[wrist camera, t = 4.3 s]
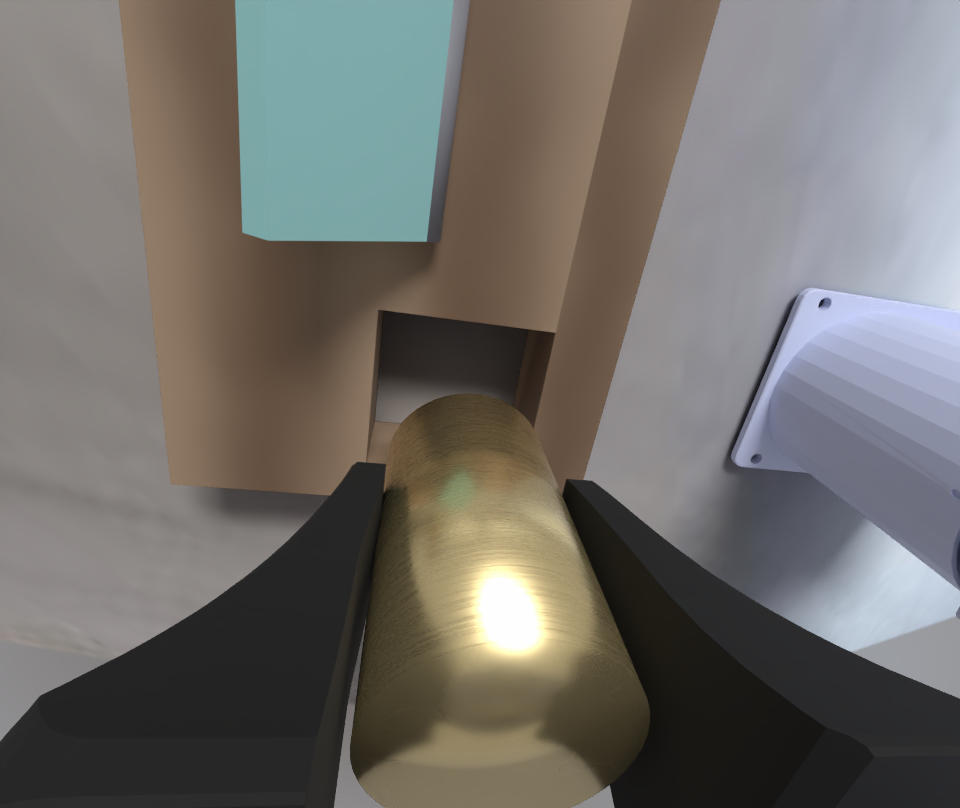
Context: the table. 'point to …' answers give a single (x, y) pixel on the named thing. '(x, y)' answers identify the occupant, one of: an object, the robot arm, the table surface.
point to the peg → (486, 628)
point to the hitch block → (403, 264)
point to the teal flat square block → (347, 116)
